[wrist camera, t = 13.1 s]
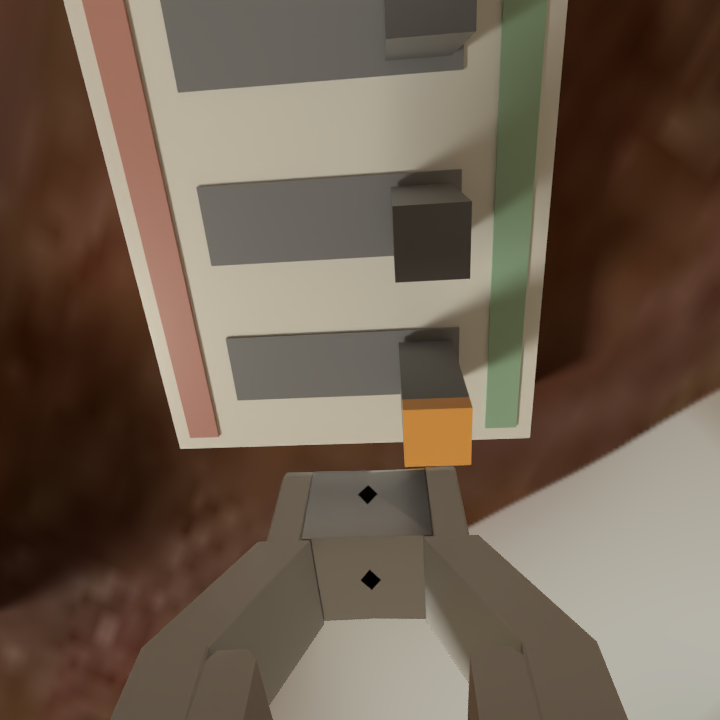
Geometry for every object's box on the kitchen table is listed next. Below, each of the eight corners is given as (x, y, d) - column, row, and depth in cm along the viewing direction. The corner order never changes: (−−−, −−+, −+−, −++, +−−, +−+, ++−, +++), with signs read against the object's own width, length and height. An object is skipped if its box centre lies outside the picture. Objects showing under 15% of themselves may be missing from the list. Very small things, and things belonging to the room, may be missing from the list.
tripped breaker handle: (398, 342, 15) (402, 410, 12) (451, 340, 15) (473, 407, 12) (400, 389, 16) (404, 466, 12) (451, 387, 16) (470, 464, 12)
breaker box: (103, -61, 14) (-115, -202, 8) (542, -106, 13) (676, -302, 7) (207, 405, 20) (131, 527, 14) (509, 394, 20) (566, 518, 13)
